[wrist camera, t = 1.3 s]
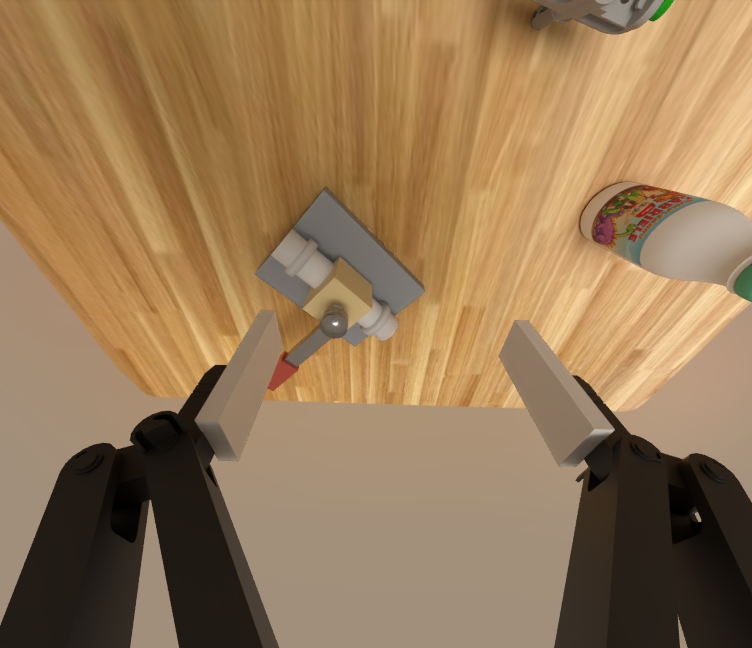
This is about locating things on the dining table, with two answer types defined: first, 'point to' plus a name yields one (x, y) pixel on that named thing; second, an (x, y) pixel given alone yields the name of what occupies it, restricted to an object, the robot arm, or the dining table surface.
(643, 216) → the milk bottle
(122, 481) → the robot arm
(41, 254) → the dining table surface
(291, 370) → the valve lever
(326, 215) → the pipe valve base
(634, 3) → the mechanical component
